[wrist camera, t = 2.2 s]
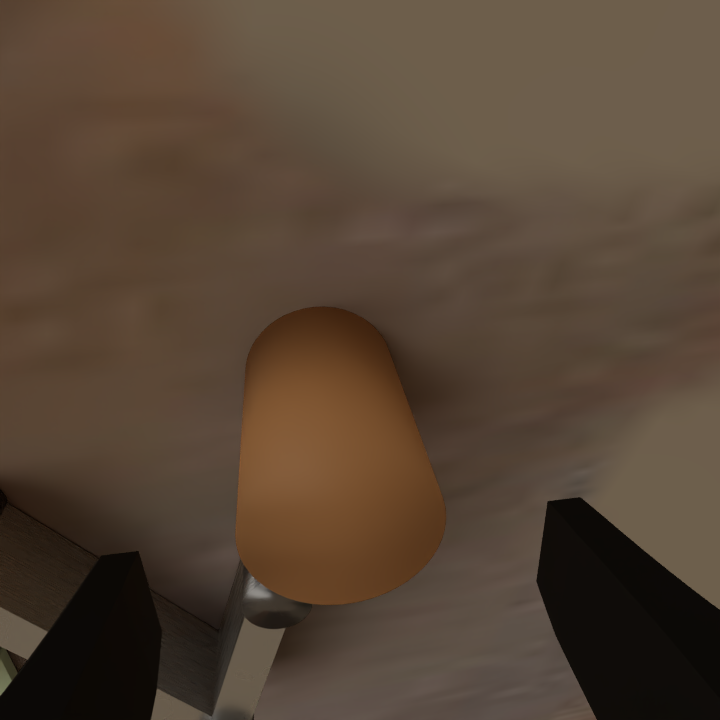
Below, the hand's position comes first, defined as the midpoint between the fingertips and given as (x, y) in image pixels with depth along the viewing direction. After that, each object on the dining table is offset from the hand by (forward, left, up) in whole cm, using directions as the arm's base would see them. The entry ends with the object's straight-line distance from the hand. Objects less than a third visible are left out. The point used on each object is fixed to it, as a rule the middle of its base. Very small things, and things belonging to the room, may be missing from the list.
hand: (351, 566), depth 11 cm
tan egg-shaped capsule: (0, 0, -7) cm, 7 cm away
